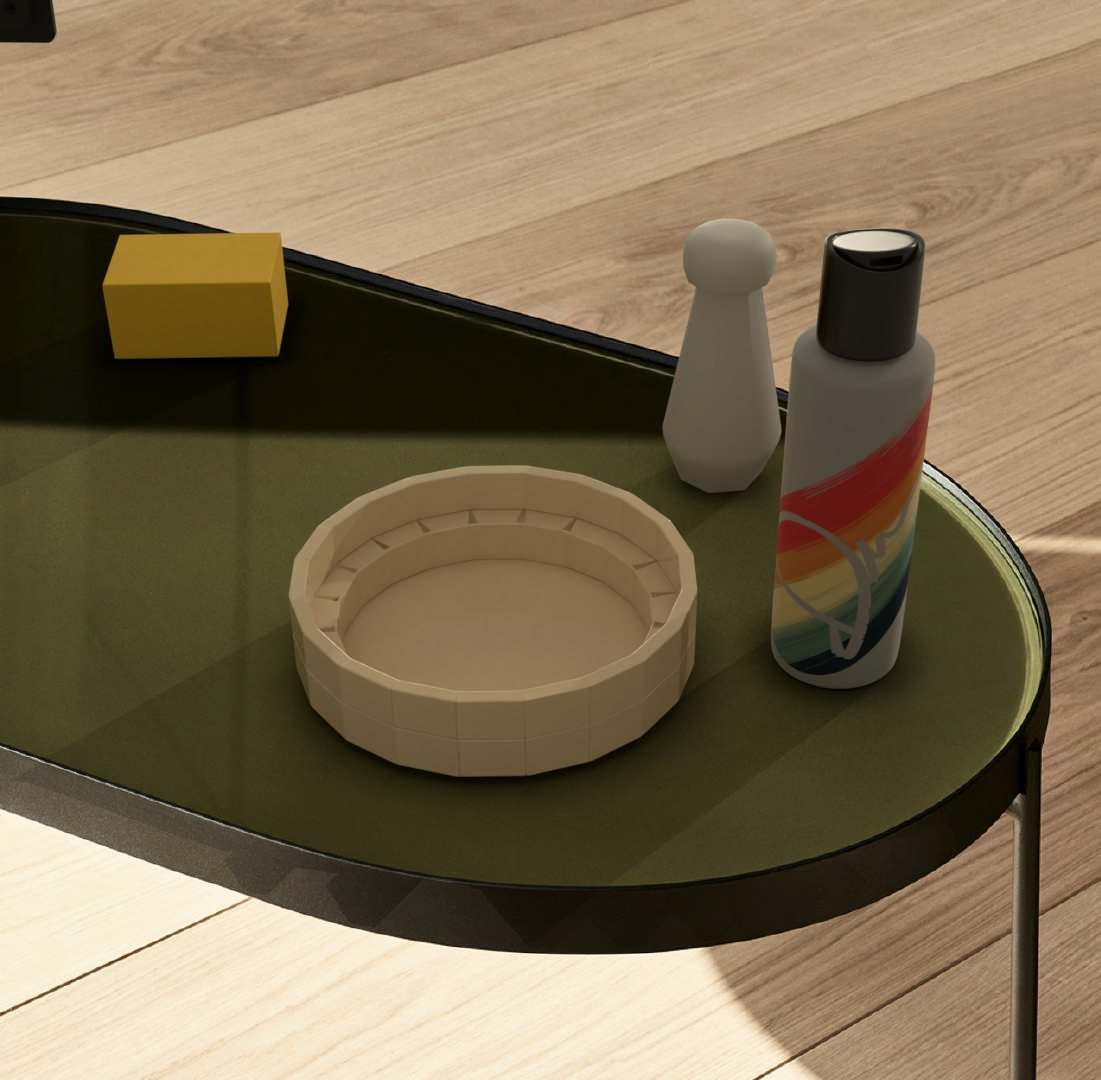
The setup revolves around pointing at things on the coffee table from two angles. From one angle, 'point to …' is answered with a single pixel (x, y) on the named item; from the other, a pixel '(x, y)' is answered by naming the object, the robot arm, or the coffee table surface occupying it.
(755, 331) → the salt shaker
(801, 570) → the striped bottle
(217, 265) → the sponge
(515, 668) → the bowl
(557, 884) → the coffee table surface
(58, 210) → the coffee table surface
